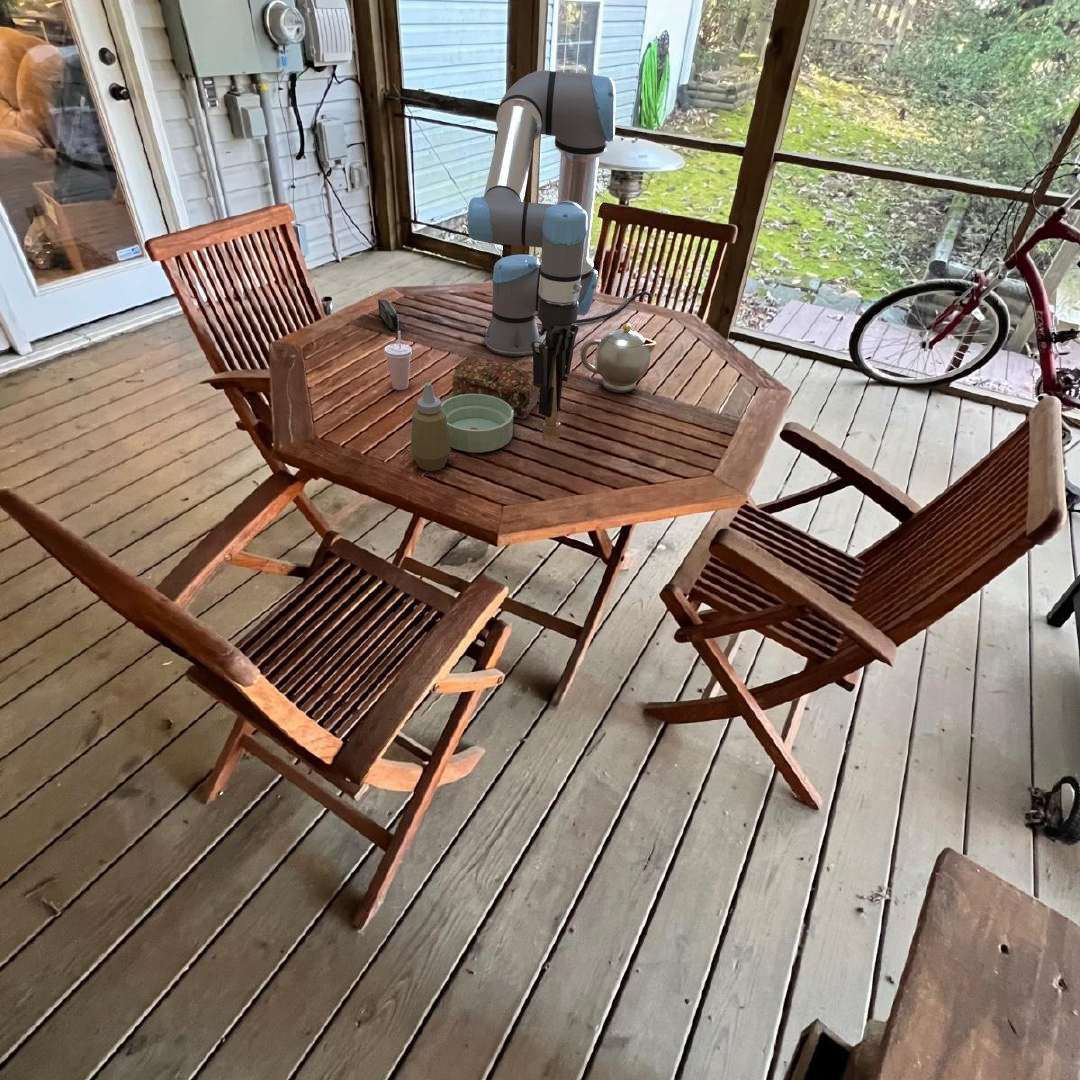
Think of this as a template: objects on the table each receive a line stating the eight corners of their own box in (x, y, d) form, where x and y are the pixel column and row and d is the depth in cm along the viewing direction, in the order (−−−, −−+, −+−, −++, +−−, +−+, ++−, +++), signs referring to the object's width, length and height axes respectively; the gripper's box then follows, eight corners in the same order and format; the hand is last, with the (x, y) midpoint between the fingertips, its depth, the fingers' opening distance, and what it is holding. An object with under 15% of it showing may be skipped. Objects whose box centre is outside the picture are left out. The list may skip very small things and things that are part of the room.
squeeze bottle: (412, 452, 144) (408, 374, 133) (451, 453, 145) (450, 374, 134) (410, 474, 138) (405, 393, 127) (450, 474, 139) (449, 394, 128)
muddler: (553, 431, 146) (551, 339, 135) (563, 437, 144) (562, 344, 132) (539, 436, 145) (536, 343, 133) (549, 442, 142) (546, 348, 131)
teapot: (648, 378, 179) (660, 317, 169) (645, 402, 169) (657, 339, 158) (581, 369, 181) (587, 307, 171) (573, 392, 171) (580, 328, 160)
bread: (451, 405, 161) (450, 366, 155) (469, 386, 169) (469, 348, 163) (525, 423, 157) (528, 383, 151) (540, 402, 165) (543, 364, 159)
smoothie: (408, 394, 164) (405, 338, 155) (382, 390, 165) (378, 334, 156) (417, 382, 169) (414, 327, 160) (392, 378, 169) (388, 323, 161)
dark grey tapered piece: (375, 298, 196) (391, 316, 186) (386, 297, 198) (402, 315, 187) (377, 315, 200) (392, 334, 189) (387, 314, 201) (403, 333, 190)
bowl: (469, 410, 160) (470, 386, 156) (526, 433, 154) (528, 409, 150) (423, 437, 149) (421, 413, 146) (481, 464, 143) (482, 439, 139)
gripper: (552, 315, 120) (543, 432, 135) (597, 293, 130) (584, 404, 145) (517, 304, 123) (512, 420, 138) (564, 283, 133) (554, 393, 148)
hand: (549, 411), depth 141 cm, fingers closed on muddler, 2 cm apart
